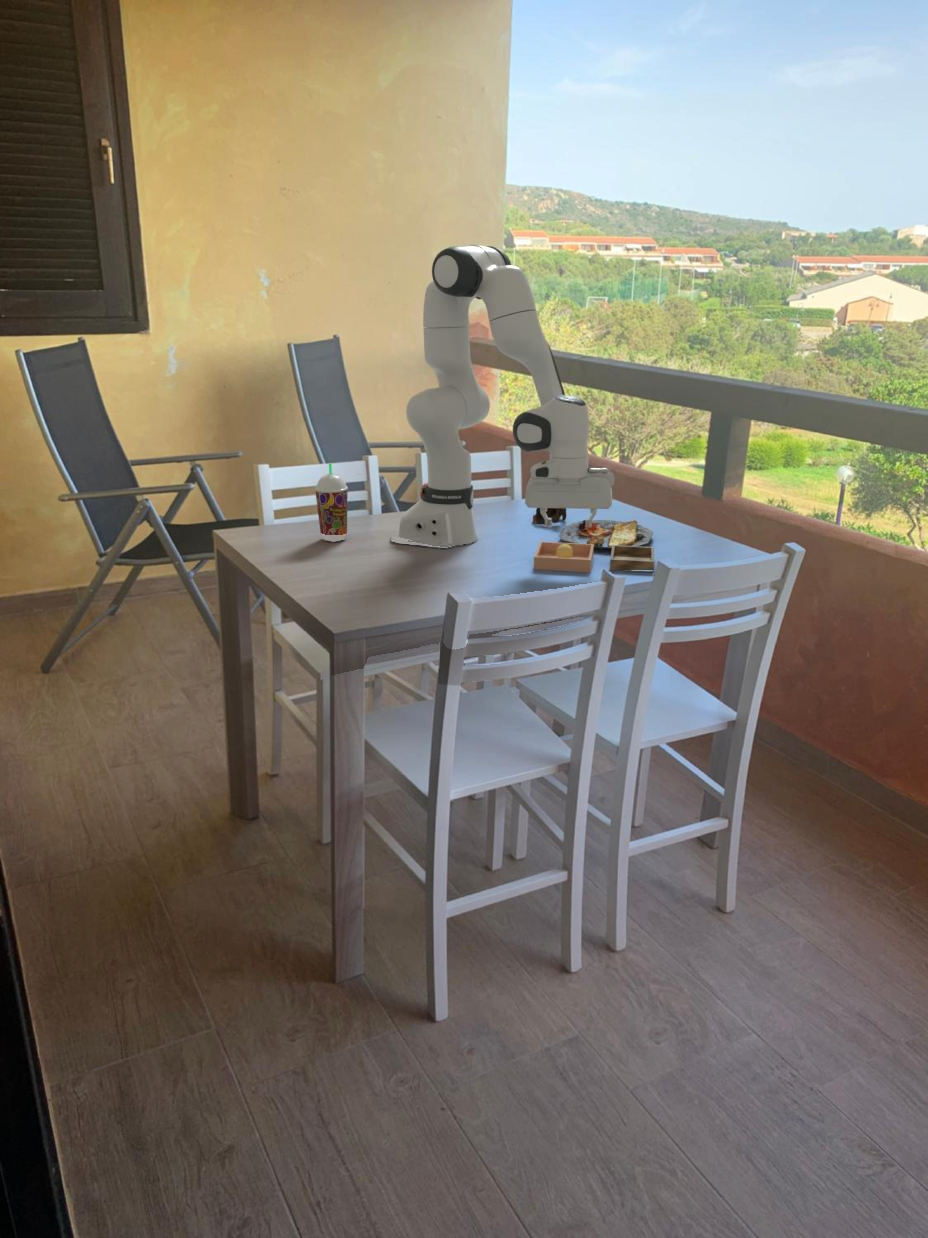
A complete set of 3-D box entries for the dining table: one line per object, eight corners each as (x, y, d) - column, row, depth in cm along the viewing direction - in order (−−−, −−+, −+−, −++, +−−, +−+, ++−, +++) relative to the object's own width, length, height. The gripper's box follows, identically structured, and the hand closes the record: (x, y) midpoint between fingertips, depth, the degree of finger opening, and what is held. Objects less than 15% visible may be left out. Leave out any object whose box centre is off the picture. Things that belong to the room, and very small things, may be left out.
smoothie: (336, 545, 233) (332, 467, 226) (311, 541, 237) (306, 464, 230) (356, 537, 240) (353, 462, 232) (332, 533, 244) (327, 458, 237)
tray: (609, 569, 213) (610, 559, 212) (611, 555, 224) (612, 545, 223) (653, 572, 212) (654, 561, 211) (653, 557, 223) (653, 547, 222)
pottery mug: (524, 522, 256) (533, 494, 257) (551, 534, 260) (560, 506, 261) (545, 521, 245) (554, 492, 246) (573, 533, 249) (582, 505, 250)
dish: (533, 569, 214) (533, 556, 213) (539, 553, 226) (540, 541, 225) (590, 572, 212) (590, 559, 211) (593, 555, 224) (593, 544, 223)
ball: (555, 562, 217) (555, 546, 216) (556, 557, 221) (557, 541, 220) (571, 563, 217) (572, 547, 215) (573, 558, 220) (573, 542, 219)
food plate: (571, 523, 252) (572, 511, 251) (656, 531, 246) (657, 518, 244) (551, 551, 230) (552, 537, 229) (644, 560, 224) (645, 546, 222)
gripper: (615, 465, 212) (613, 523, 216) (527, 465, 215) (527, 522, 220) (614, 470, 206) (612, 530, 210) (524, 470, 210) (524, 528, 214)
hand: (568, 526), depth 215 cm, fingers open, 8 cm apart
